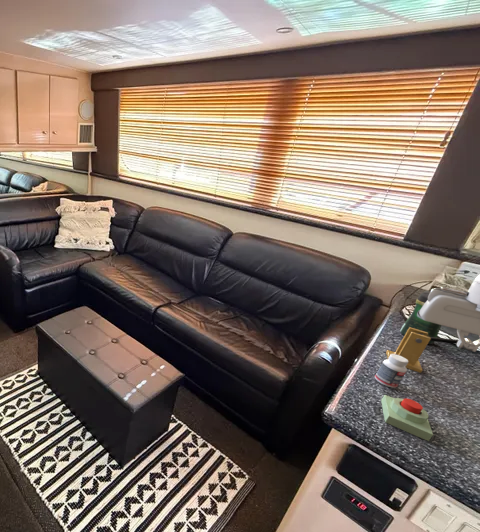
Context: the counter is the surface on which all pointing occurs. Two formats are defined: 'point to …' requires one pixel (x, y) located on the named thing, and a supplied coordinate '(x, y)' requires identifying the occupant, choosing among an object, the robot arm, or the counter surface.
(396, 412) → the button box
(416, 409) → the button
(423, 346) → the bracket
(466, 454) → the counter surface
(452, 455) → the counter surface
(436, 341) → the lever
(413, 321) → the coffee jar
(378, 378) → the pill bottle
